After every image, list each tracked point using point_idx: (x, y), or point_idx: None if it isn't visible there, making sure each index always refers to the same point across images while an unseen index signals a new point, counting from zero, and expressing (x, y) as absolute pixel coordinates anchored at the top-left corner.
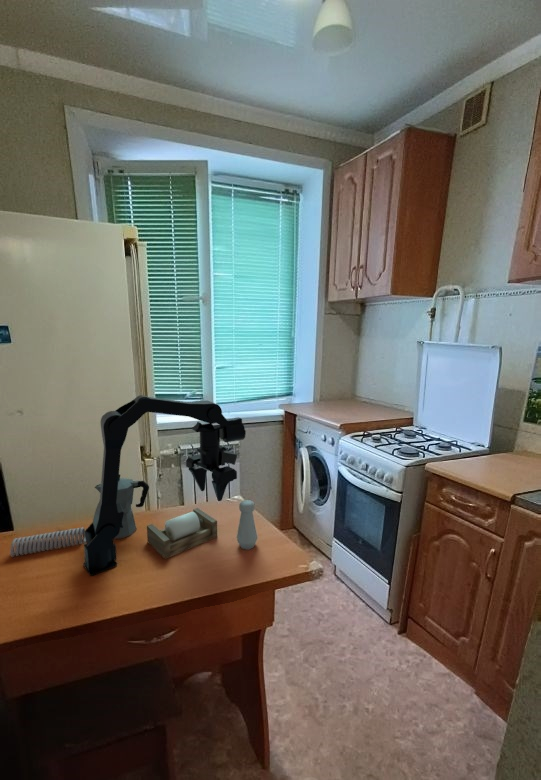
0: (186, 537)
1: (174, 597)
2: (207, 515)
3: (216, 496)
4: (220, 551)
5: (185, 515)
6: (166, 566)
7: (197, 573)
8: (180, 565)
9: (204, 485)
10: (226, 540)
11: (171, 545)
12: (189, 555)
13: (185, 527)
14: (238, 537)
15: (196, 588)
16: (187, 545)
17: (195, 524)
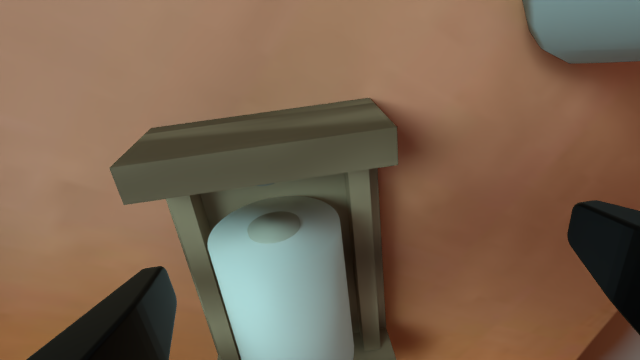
0: (360, 279)
1: (576, 348)
2: (281, 153)
3: (626, 311)
4: (494, 144)
5: (284, 325)
6: (427, 336)
7: (541, 270)
8: (456, 302)
9: (139, 323)
10: (435, 71)
11: (379, 340)
12: (423, 261)
13: (347, 309)
14: (593, 62)
15: (599, 294)
16: (378, 264)
17: (342, 253)
